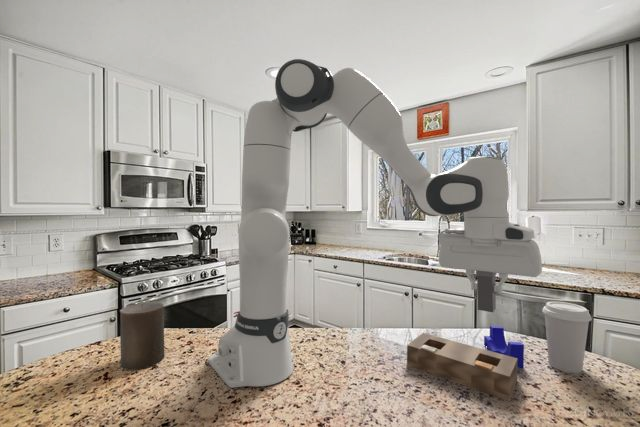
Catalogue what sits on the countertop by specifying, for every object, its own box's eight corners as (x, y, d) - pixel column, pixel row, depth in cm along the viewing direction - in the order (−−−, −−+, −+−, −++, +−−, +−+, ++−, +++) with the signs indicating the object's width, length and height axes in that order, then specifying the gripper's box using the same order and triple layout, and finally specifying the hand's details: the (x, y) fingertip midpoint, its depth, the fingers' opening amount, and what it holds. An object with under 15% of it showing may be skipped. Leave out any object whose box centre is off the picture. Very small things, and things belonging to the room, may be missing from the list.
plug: (476, 309, 69) (476, 269, 69) (480, 305, 72) (479, 267, 72) (493, 312, 67) (493, 271, 67) (496, 308, 70) (496, 269, 69)
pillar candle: (168, 362, 78) (168, 302, 78) (122, 374, 72) (122, 310, 71) (159, 348, 85) (159, 294, 85) (117, 359, 79) (117, 301, 79)
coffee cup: (533, 362, 78) (534, 303, 78) (553, 354, 83) (554, 298, 82) (578, 381, 70) (579, 315, 70) (598, 370, 74) (599, 309, 74)
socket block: (406, 364, 77) (407, 343, 77) (422, 350, 84) (423, 331, 84) (509, 401, 62) (509, 375, 62) (517, 380, 70) (517, 357, 70)
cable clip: (484, 346, 88) (484, 325, 88) (500, 347, 87) (501, 326, 87) (503, 367, 76) (504, 343, 76) (523, 369, 75) (523, 344, 75)
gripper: (434, 229, 73) (435, 287, 74) (539, 232, 60) (539, 303, 60) (443, 227, 78) (444, 281, 78) (542, 230, 65) (543, 295, 65)
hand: (486, 291), depth 69 cm, fingers closed on plug, 3 cm apart
